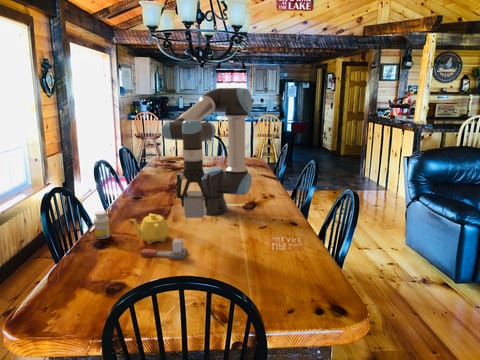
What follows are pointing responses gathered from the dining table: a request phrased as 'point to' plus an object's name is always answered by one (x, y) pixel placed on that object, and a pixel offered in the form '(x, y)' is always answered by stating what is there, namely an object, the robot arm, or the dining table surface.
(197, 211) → the rimmed grey cube
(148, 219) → the teapot
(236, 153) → the robot arm
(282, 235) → the dining table surface
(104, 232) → the pill bottle
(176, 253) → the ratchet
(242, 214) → the dining table surface
